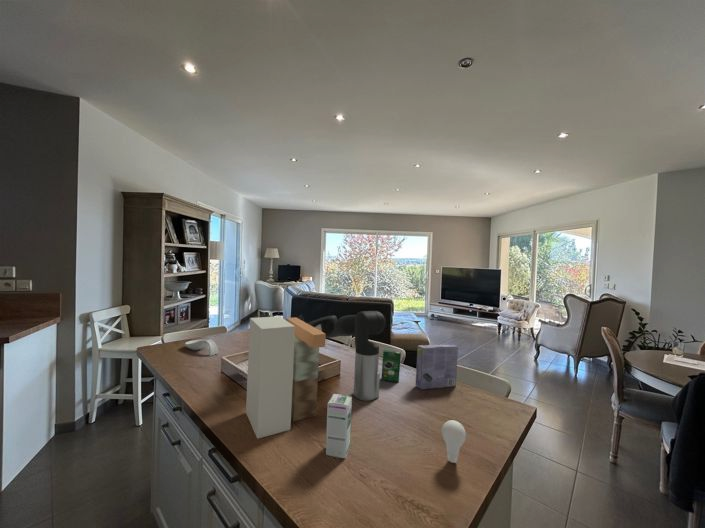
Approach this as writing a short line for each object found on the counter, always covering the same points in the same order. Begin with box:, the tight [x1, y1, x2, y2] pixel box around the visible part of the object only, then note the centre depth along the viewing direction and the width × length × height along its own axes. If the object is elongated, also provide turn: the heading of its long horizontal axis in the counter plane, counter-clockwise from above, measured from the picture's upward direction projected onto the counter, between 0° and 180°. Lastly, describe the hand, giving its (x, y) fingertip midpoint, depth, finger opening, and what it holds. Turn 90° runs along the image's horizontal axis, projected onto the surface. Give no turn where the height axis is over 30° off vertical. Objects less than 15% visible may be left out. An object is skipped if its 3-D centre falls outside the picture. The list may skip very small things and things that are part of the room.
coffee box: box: [380, 349, 402, 383], centre depth 131 cm, size 8×3×13 cm, turn 79°
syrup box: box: [325, 393, 353, 460], centre depth 81 cm, size 6×6×14 cm
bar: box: [285, 317, 327, 349], centre depth 100 cm, size 26×4×4 cm, turn 31°
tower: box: [291, 336, 320, 422], centre depth 100 cm, size 8×8×26 cm
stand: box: [245, 315, 295, 439], centre depth 94 cm, size 10×16×32 cm, turn 31°
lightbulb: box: [441, 419, 467, 464], centre depth 79 cm, size 6×6×11 cm
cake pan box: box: [415, 344, 459, 390], centre depth 127 cm, size 19×5×18 cm, turn 108°
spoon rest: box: [184, 338, 219, 357], centre depth 159 cm, size 24×12×7 cm, turn 56°
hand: (291, 318), depth 111 cm, fingers open, 8 cm apart
